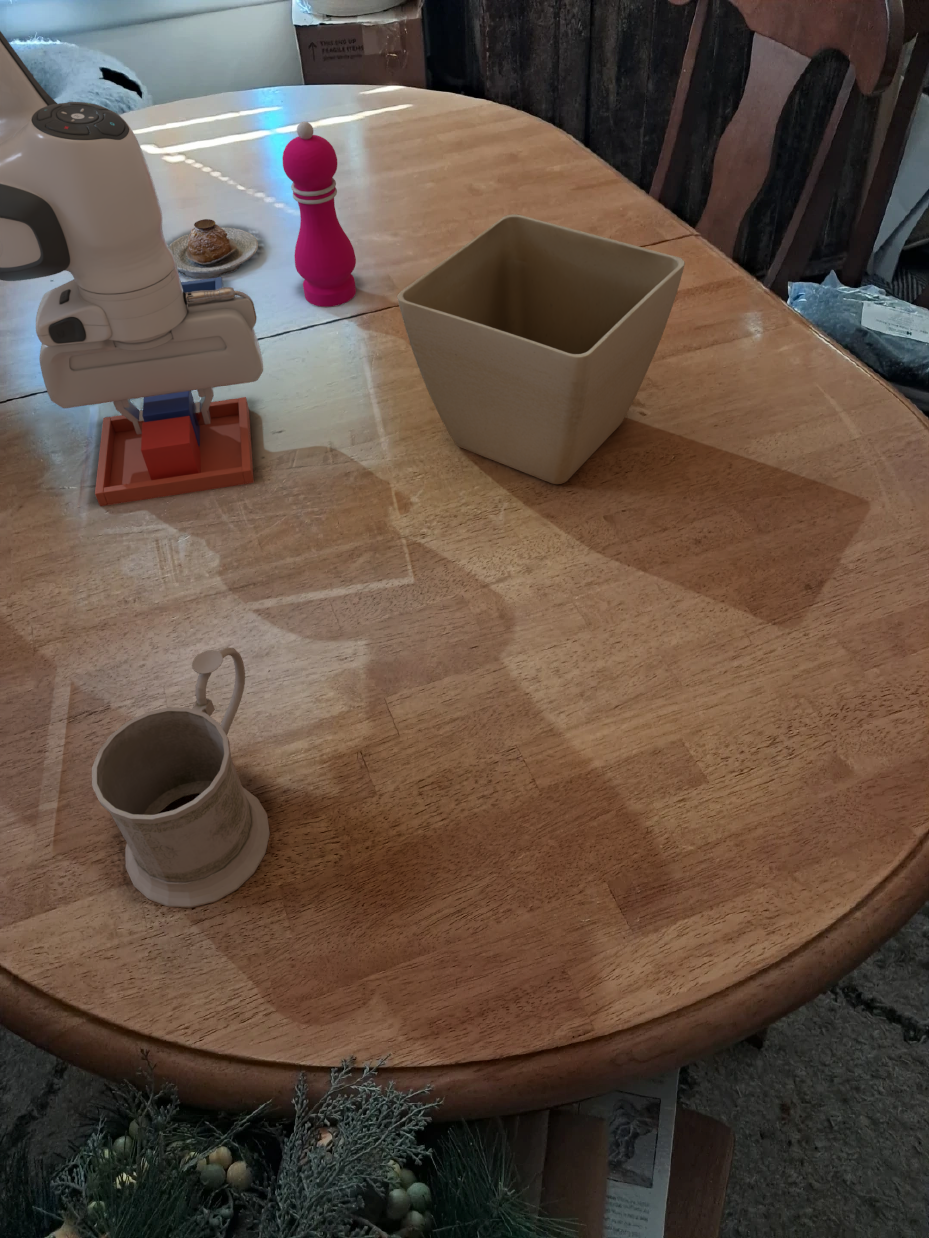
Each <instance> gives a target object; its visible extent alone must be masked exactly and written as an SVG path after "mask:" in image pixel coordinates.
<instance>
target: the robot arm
mask: <svg viewBox="0 0 929 1238" xmlns="http://www.w3.org/2000/svg"><path fill="white" fill-rule="evenodd" d="M162 211H163V209H162V206H161V202H160V200H159V195H158V193H157V190H156V186H155V183H154V181H153V176H152V174H151V171H150V168H149V165H148V162H147V160H146V157H145V155H144V153H143V150H142V147H141V145H140V143H139V140H138V138H137V136H136V135H135V133H134V131H133V130H132V128H131V127H130V125H129V124H128V123H127V122H126V121H125V119H124V118H123V117H122V116H121V115H119V114H118V113H117V112H115V111H114V110H111V109H109V108H107V107H105V106H102V105H99V104H95V103H91V102H84V101H67V102H60V103H59V102H57V101H56V100H55V99H54V98H52V97H51V96H50V94H49V93H48V92H47V91H46V89H44V88H43V86H41V84H40V83H39V82H38V80H37V79H36V78H35V76H34V75H33V74H32V72H31V71H30V70H29V68H28V67H27V66H26V64H25V63H24V61H23V60H22V59H21V57H20V56H19V55H18V53H17V52H16V51H15V49H14V47H13V46H12V44H11V43H10V41H8V39H7V38H6V37H5V35H4V34H3V33H2V31H1V30H0V281H3V282H5V281H6V282H19V281H20V282H21V281H27V280H34V279H40V278H45V277H50V276H54V275H57V274H60V273H62V272H68V273H70V274H71V276H72V277H73V279H72V280H69V281H68V282H65V283H64V284H61V285H59V286H57V287H54V288H52V289H51V290H49V291H47V292H45V293H44V294H43V295H42V298H41V300H40V302H39V305H38V307H37V311H36V315H35V333H36V336H37V338H38V340H39V342H40V343H41V344H40V351H39V366H40V371H41V375H42V379H43V383H44V386H45V389H46V392H47V394H48V397H49V399H50V401H51V402H52V403H53V404H55V405H56V406H58V407H60V408H62V409H71V408H78V407H87V406H93V405H100V404H107V403H113V407H114V408H115V410H116V411H117V412H118V413H119V414H120V415H123V416H124V417H126V418H127V419H128V420H129V421H131V422H133V425H134V428H135V431H136V434H137V435H138V434H142V423H143V422H144V419H143V416H142V414H143V409H141V410H140V409H139V408H138V407H137V406H135V404H134V403H133V402H132V401H131V400H135V399H142V398H143V399H144V397H150V396H157V395H164V394H171V393H178V392H185V391H191V392H192V391H197V394H198V397H199V398H200V400H199V401H198V402H194V403H193V416H194V419H195V423H196V426H199V425H207V424H211V422H210V412H209V406H210V404H211V402H213V398H214V395H215V394H214V393H215V391H214V388H219V387H227V386H233V385H234V386H235V385H241V384H249V383H255V382H257V381H259V379H260V378H261V376H262V374H263V373H264V359H263V353H262V350H261V346H260V343H259V340H258V336H257V334H256V332H255V329H254V328H255V326H256V323H257V318H258V317H257V313H256V308H255V304H254V301H253V299H252V298H251V297H250V296H249V295H248V293H245V292H244V291H241V290H235V288H234V287H231V286H224V288H219V289H217V290H205V291H204V290H202V291H193V292H183V288H182V284H181V282H182V281H181V277H180V274H179V271H178V269H177V266H176V262H175V258H174V256H173V253H172V251H171V249H170V248H169V245H168V243H167V241H166V238H165V235H164V231H163V212H162Z"/></svg>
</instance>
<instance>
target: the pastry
mask: <svg viewBox="0 0 929 1238" xmlns="http://www.w3.org/2000/svg"><path fill="white" fill-rule="evenodd" d="M168 246H169V248H170V249H171V251H172V253H173V256H174V258H175V262H176V266H177V269H178V272H180V273H183V274H184V276H187V277H189V278H198V279H208V278H217V277H221V276H222V275H227V274H231V273H234V272H236V271H237V270H239V269H240V265H241V264H243V263H245V262H247V261H249V259H251V258H252V257H253V256H254V255H255V254H256V252H257V250H258V248H259V242H258V239H257V237H255V235H253V234H252V233H250V232H248V231H246V230H242V229H239V228H233V227H220V226H219V225H218V224H216V221H215V220H214V219H209V218H205V219H203V218H202V219H200V220H197V221H195V222H194V223H193V227H192V229H191V230H190V233H187V234H185V235H182V236H181V237H179V238H176V239H175V240H174V241H172V242H171V243H170V244H169V245H168Z"/></svg>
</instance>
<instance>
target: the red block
mask: <svg viewBox="0 0 929 1238" xmlns="http://www.w3.org/2000/svg"><path fill="white" fill-rule="evenodd" d="M141 452H142V455H143V458H144V461H145V463H146V466H147V469H148V472H149V475H150V478H151V480H157V479H164V478H170V477H177V476H183V475H190V474H196V473H201V453H200V449H199V446H198V443H197V439H196V436H195V433H194V429H193V426H192V423H191V419H190V416H184V417H177V418H170V419H164V420H157V421H150V422H143V423H142V439H141Z"/></svg>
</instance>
